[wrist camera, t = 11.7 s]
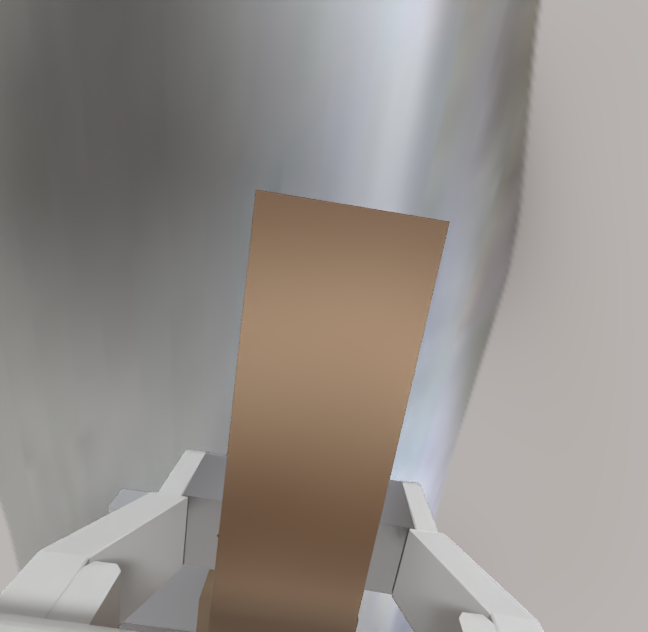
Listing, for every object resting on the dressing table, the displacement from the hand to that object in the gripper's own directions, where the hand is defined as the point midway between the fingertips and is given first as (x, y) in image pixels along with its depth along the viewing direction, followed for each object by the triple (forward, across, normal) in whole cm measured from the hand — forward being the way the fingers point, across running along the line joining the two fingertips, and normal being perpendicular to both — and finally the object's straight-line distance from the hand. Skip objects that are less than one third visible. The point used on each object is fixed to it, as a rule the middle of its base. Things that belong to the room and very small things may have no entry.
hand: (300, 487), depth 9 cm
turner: (+2, 0, +2) cm, 3 cm away
